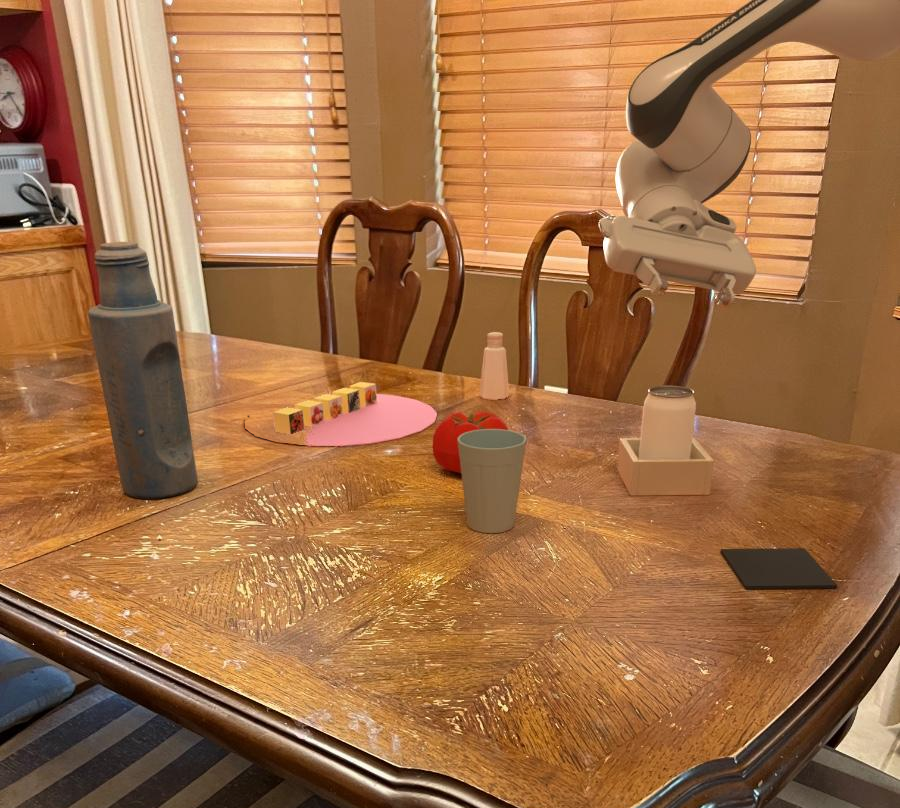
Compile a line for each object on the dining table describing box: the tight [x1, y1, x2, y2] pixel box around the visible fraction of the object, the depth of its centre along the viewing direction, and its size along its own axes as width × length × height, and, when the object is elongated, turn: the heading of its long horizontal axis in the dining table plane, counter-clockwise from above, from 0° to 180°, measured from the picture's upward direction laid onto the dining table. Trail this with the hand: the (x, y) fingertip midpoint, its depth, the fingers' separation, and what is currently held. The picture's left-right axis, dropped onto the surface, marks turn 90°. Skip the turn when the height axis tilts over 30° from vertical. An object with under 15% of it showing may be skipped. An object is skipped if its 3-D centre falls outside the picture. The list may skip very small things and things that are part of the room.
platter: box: [273, 381, 438, 448], centre depth 142 cm, size 32×32×3 cm
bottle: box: [87, 241, 199, 500], centre depth 107 cm, size 10×10×30 cm
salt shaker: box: [478, 331, 510, 401], centre depth 151 cm, size 5×5×11 cm
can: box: [638, 385, 697, 460], centre depth 110 cm, size 6×6×12 cm
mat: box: [720, 547, 838, 590], centre depth 89 cm, size 9×9×1 cm
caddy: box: [616, 436, 715, 497], centre depth 112 cm, size 10×10×4 cm
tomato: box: [432, 410, 509, 475], centre depth 117 cm, size 11×11×8 cm
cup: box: [458, 429, 527, 534], centre depth 98 cm, size 8×8×10 cm
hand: (694, 296), depth 107 cm, fingers open, 8 cm apart
